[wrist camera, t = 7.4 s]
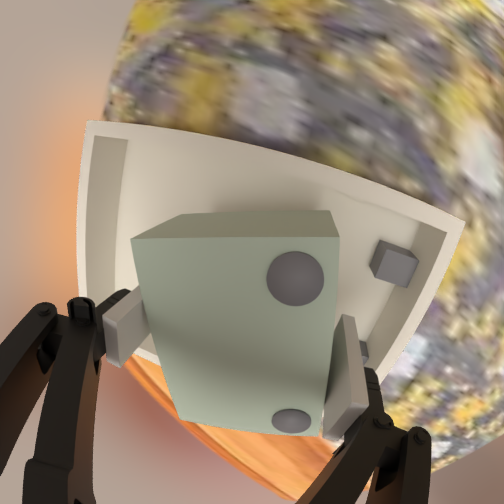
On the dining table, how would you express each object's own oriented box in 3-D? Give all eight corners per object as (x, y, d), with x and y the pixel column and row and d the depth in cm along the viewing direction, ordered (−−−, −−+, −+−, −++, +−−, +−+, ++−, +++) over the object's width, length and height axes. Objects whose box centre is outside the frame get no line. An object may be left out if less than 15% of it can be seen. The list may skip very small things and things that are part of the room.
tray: (128, 123, 19) (87, 119, 15) (433, 206, 17) (465, 222, 12) (112, 300, 25) (82, 325, 21) (347, 381, 23) (349, 422, 18)
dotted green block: (180, 214, 15) (127, 240, 10) (329, 210, 14) (340, 238, 9) (206, 368, 19) (178, 421, 14) (320, 377, 17) (317, 439, 12)
